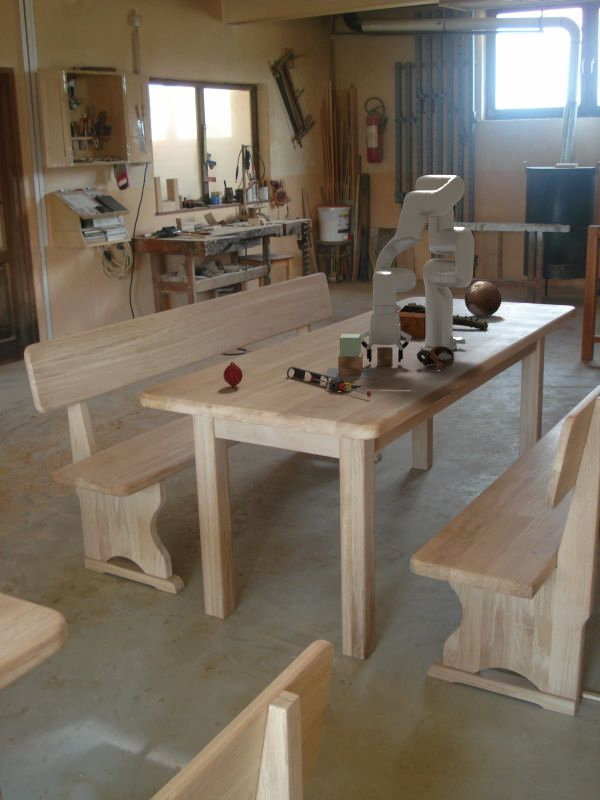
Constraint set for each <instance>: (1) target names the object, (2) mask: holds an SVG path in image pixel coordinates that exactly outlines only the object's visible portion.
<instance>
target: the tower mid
mask: <svg viewBox="0 0 600 800" xmlns="http://www.w3.org/2000/svg"><path fill="white" fill-rule="evenodd" d="M361 335H362V333H341V335H340V337H339V354H340V357H359V356H360V353H361V352H362V348H361V347H362V344H361Z"/></svg>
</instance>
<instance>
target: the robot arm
mask: <svg viewBox="0 0 600 800" xmlns="http://www.w3.org/2000/svg"><path fill="white" fill-rule="evenodd" d="M414 188H415V190H414V191H410V192H408V193H406V195H405V197H404V199H403V203H402V208H401V211H400V214H399V221H398V224H397V227H396V232H395V235H394V236H393V237H392V238H391V239H389V241H388V242H387V243H386V244H385V246H384V247H383V248H382V250H381V251H380V252H379V254H378V256H377V258H376V262H375V263H376V264H375V267H374V271H373V275H372V312H371V313H370V318H369V327H368V331H365V332H363V333H361V347H364V349H365V350H366V360H368V363H372V360H373V359H372V357H373V355H372V354H373V353H372V350H373V349H372V347H373V346H374V345H375V346H377V345H378V346H379V345H380V346H389V345H390V346H391V345H396V347H397V348H398V351H397V352H398V353H397V355H398V356H397V357H398V358H397V359H398V360H397V362H398V363H401V361H402V360H403V359H404V350H405V348H406V347H408V345H409V344H410V342H411V340H412V339H413V338H412V337H411V336H410V335H408V334H406V333H404V332H402V331H401V328H400V318H399V313H396V312H398V311H400V310H401V309H402V306H401V305H397V304H398V303H397V294H398V293H404V292H405V293H407V292H409V291H412V290H413V289H414V288H415V287H416V285H417V280H418V279H417V275H416V273H415V272H414V271H413V270H412V269H409V268H404V267H403V268H402V267H391V266H392V263H393V261H394V260H395V258H396V257H397V256H398V255H399V254H400V253H402V252H403V251H405V250H408V249H409V248H411V247H414V246H416V245H418V244H419V243H420V242H421V241H422V238H423V232H424V229H425V224H426V221H427V218H428V231H427V232H428V234H427V235H428V238H427V239H428V240H427V241H428V243H427V244H428V249H429V251H430V252H431V253H432V254H435V255H444V256H445V255H446V256H454V258H445V257H444V258H441V257H439V258H438V257H436V258H431V259H429V260H427V261H426V262H425V263H424V265H423V268H422V277H423V284H424V290H425V291H424V293H425V295H424V296H425V303H424V304H425V305H424V307H425V340H424V341H425V342H423V343H422V344H420V348H421V350H425V351H428V352H429V351H431V350H432V349H433V348H434V347H436V346H443V347H447V348H449V349H450V350H452V351H455V350H456V349H458V347H457V346H458V344H461V345H466V337H465V338H463V337H455V336H454V333H453V332H454V330H453V327H454V325H453V315H454V298H453V293H452V291H451V289H450V288H458V289H460V288H461V289H464V288H468V287H469V286H470V284H471V283H472V279H473V276H474V275H473V274H474V261H475V260H474V259H475V239H474V235H473V233H472V231H471V229H469V228H468V227H463V226H455V223H454V222H455V221H454V220H455V213H454V208H453V207H454V206H455V205H456V204H458V202H459V201H460V200H461V199H462V197H463V195H464V194H465V190H466V189H465V188H466V185H465V181H464V180H463V178H462V177H461V176H459V175H453V174H452V175H451V174H448V175H447V174H428V175H422V176H419V177H418V178H417V179H416V180H415V187H414ZM401 336H403V337H401ZM366 337H368V341H369V342H368V343H367V341H365V339H364V338H366ZM401 338H405V341H404V342H403V343H402V342H401V340H402V339H401ZM454 349H455V350H454ZM443 352H445V351H444V350H443Z"/></svg>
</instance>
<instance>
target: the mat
mask: <svg viewBox="0 0 600 800" xmlns="http://www.w3.org/2000/svg"><path fill="white" fill-rule="evenodd" d="M378 369H379V368H378V367H363V371H362V374H361V376H342V375H338V367H328V368H327V370H326V371H325V374H324V375H326V376H330V377H333V378H337V379H367V380H368V379H369V380H371V379H372V380H374V379H376V378H375V377H376V375H377V371H378ZM328 378H329V377H328ZM322 379H326V378H325V377H324V376H322ZM329 379H330V378H329Z"/></svg>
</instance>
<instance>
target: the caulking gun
mask: <svg viewBox="0 0 600 800" xmlns="http://www.w3.org/2000/svg"><path fill="white" fill-rule="evenodd" d="M291 369H292V370H293V371H294V373H293V375H292V376H293V377H298V378H303V379H305V377H306V373H308V374H310V379H309V380H310V381H311V382H316V383H319V384H320V383H325V385H327V386H328V387H329V388H328V389H329V390H330V391H333V390H335V391H334V392H337V391H343V392H345V391H348V390H350V391H353V392H358V393H361V394H365V395H366V396H367V397H368V398H370V397H371V396H372V391H370V390H369V391H367V392H365V391H361V390H358V389H359V388H362V385H361V384H360V385H359V384H358V385H357V384H352V383H350V382H345V381H344V380H343V379H342V378H333V377H330V376H326V375H325V374H322V373H317V372H313V371H310V370H307V369H302V368H299V367H295V366H290V367H288V369H287V371H286V375H287V376H286V377H287V378H290V377H291V376H290V375H289V373H290V370H291ZM322 377H325V378H324V379H326V380H321V379H322ZM328 377H329V378H328ZM329 379H330V381H329ZM358 387H359V388H358ZM354 388H355V389H354Z"/></svg>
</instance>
